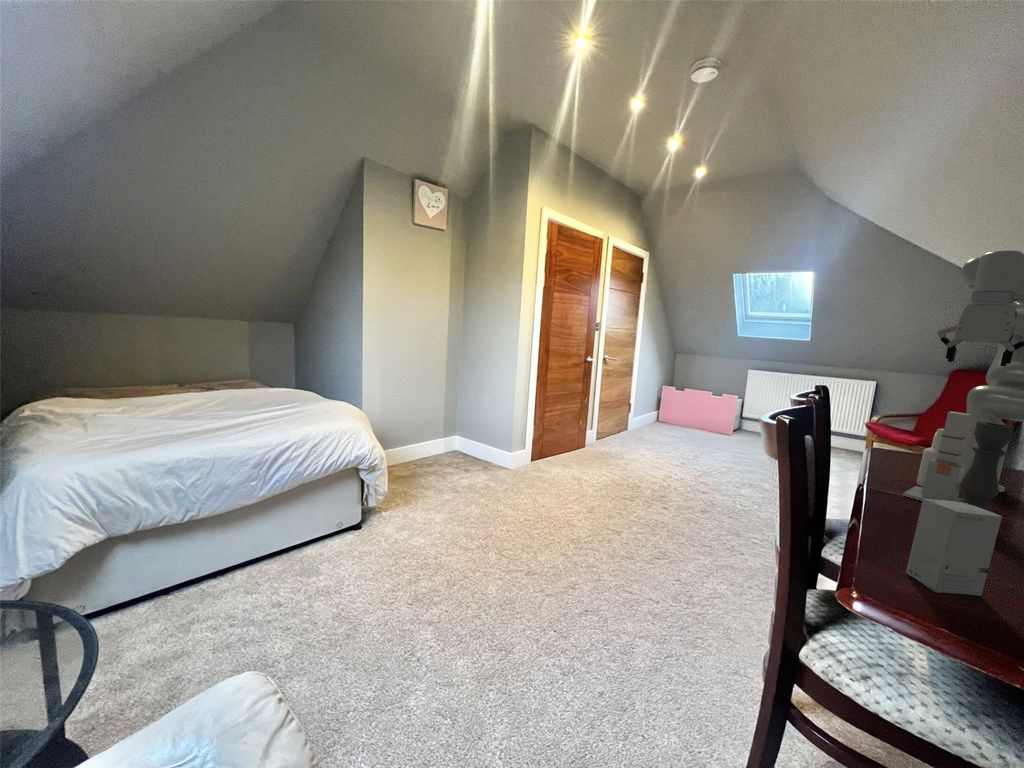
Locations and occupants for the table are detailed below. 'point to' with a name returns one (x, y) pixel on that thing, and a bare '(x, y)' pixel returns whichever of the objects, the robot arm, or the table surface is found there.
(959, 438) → the jack column
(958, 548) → the skincare box
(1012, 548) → the table surface
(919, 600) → the table surface
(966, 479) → the candle holder
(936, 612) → the table surface
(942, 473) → the white blocky piece
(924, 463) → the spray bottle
